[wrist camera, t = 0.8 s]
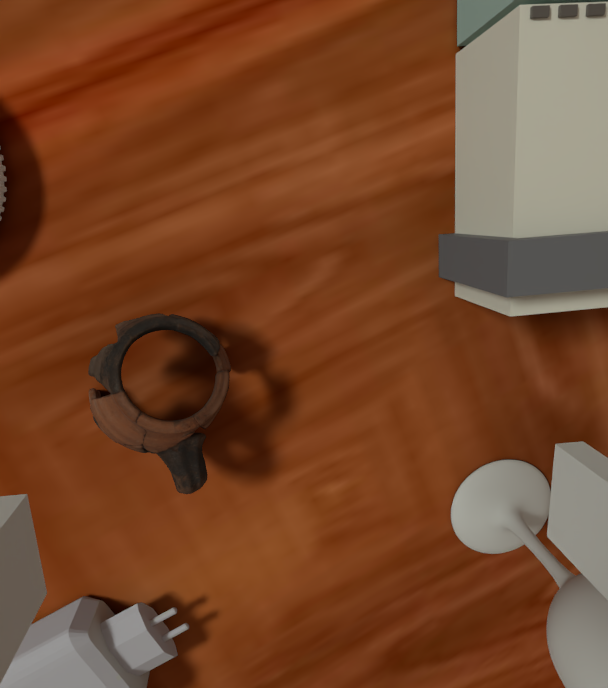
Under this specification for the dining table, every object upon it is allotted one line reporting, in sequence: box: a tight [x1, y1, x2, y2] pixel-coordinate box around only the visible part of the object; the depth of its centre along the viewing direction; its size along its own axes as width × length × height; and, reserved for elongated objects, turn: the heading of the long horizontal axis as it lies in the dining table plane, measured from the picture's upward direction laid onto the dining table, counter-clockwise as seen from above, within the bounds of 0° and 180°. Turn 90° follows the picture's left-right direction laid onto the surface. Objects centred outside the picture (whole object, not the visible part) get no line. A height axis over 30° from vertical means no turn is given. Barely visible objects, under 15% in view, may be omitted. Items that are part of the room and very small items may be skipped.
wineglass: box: [451, 460, 608, 688], centre depth 32 cm, size 9×9×21 cm
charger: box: [0, 596, 189, 688], centre depth 39 cm, size 5×9×15 cm
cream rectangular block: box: [439, 2, 608, 317], centre depth 31 cm, size 16×10×10 cm, turn 4°
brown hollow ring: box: [88, 314, 231, 494], centre depth 34 cm, size 12×10×8 cm
